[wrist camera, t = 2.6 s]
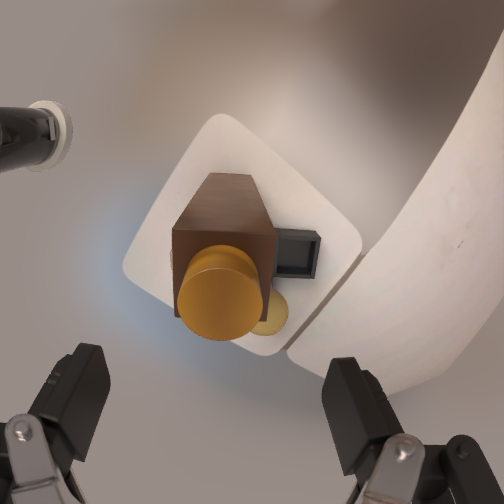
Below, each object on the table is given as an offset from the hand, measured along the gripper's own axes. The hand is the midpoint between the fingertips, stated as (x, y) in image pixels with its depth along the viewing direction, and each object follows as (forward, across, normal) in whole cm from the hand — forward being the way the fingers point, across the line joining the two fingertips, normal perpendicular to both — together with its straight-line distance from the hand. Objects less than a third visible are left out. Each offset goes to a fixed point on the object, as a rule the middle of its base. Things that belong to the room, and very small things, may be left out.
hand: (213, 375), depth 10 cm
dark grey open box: (+34, -7, +8) cm, 35 cm away
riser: (+34, 0, 0) cm, 34 cm away
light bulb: (+34, -6, +14) cm, 37 cm away
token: (+8, 0, 0) cm, 8 cm away
